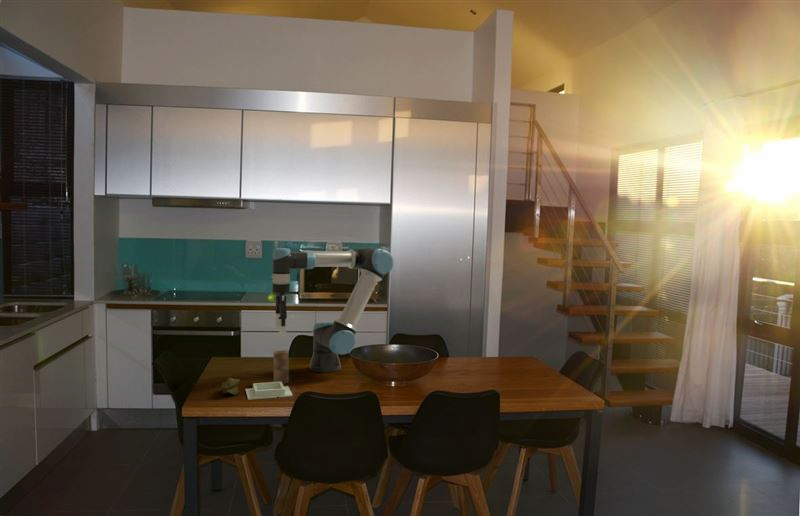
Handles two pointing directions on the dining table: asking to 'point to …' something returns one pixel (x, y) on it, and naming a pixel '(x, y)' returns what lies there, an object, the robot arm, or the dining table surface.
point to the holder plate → (268, 391)
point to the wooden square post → (281, 366)
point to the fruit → (230, 386)
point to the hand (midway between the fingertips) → (280, 330)
